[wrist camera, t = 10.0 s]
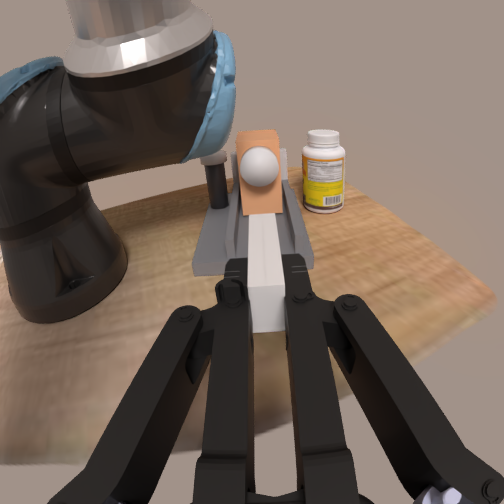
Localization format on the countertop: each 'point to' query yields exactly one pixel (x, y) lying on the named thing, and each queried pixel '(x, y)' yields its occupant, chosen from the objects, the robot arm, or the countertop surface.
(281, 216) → the mount
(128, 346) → the countertop surface
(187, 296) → the countertop surface
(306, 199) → the supplement bottle
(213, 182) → the dial post
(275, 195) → the orange rectangular block
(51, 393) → the countertop surface
